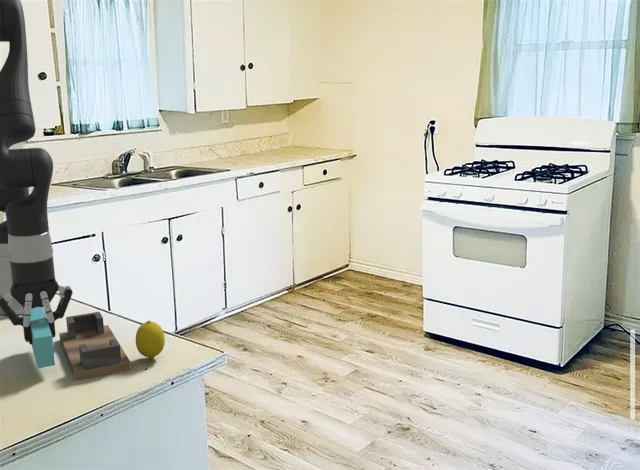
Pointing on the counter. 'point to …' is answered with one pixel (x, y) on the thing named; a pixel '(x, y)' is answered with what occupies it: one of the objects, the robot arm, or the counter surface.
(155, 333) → the lemon
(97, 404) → the counter surface
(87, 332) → the slat frame
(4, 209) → the robot arm
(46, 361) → the slat
